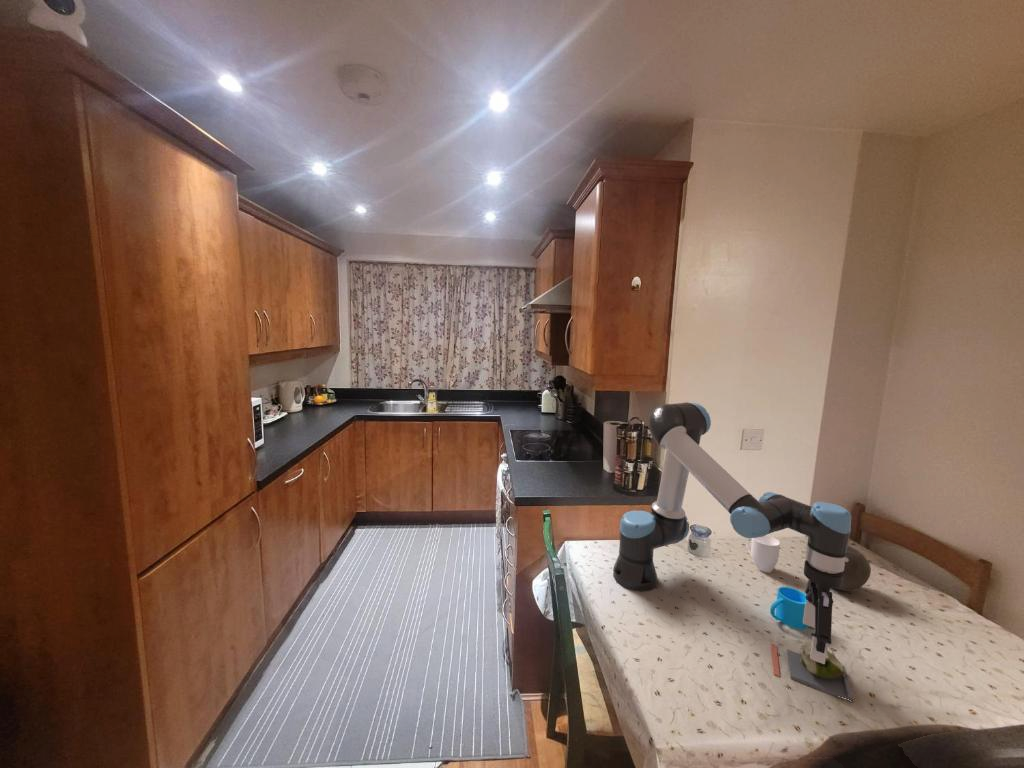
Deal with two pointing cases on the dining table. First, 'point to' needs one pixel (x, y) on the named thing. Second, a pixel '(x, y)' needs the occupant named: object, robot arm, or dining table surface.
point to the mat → (818, 678)
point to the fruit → (826, 670)
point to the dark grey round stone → (855, 570)
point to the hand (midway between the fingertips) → (812, 642)
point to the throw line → (775, 660)
